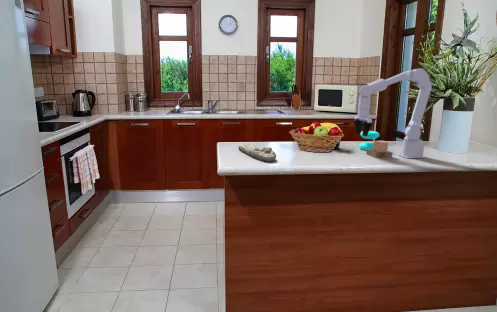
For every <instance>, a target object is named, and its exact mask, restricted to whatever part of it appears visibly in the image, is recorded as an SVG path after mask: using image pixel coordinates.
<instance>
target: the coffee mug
mask: <svg viewBox="0 0 497 312" xmlns="http://www.w3.org/2000/svg"><path fill="white" fill-rule="evenodd" d="M340 131H341V132H342V133H343V130H340ZM341 137H342V136H341ZM343 137H344V136H343ZM343 137H342V138H341V140H343ZM341 140H340V141H339V142H338V143H337V144H336V146H335V147H334V149H333V150H339V149H340V145H341Z"/></svg>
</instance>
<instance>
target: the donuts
mask: <svg viewBox="0 0 497 312" xmlns="http://www.w3.org/2000/svg"><path fill="white" fill-rule="evenodd" d="M359 135H360V136H361V137H362V138H363V139H367V140H368V139H369V140H375V139H377V138H379V137H380V133H379V132H378V131H373V130H369V132H368V135H367V136H363V130H361V132H360V134H359ZM358 145H359V146H358V147H359V149H361V150H362V151H367V149H373V146H374V142H370V141H369V142H368V141H366V142H365V141H364V142H361V143H360V144H358Z"/></svg>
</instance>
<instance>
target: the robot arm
mask: <svg viewBox="0 0 497 312" xmlns="http://www.w3.org/2000/svg"><path fill="white" fill-rule="evenodd" d="M404 80H405V81H412V82H413V83H414V84H416V85H417V87H418V88H419V91H418V94H417V97H416V101H415V105H414V108H413V111H412V114H411V119H410V120H409V123H408V125H407V126H406V128H405V129H404V135H405V137H404V138H403V144H402V152H401V153H398V154H397V155H398V156H400V157H402V158H405V159H424V152H425V151H424V150H425V142H424V141H423V139H420V137H421V136H422V135H421V134H422V131H421V128H422V120H423V116H424V115H425V111H426V107H427V104H428V100H429V98H430V94H431V91H432V88H433V87H432V83H431V80H430V76H429V73H428V72H427V71H426V70H425V69H424V68H422V67H421V68H414V69H411V70H407V71H404V72H401V73H399V74H398V73H397V74H396V75H393V76H392V77H389V78H387V79H384V78H377V79H376V80H375V81H372V82H367V84H364V85H362V86H361V87H360V88H359V90H358V93H359V97H358V98H359V99H358V107H357V115H354V119H353V120H352V122H353V125H354V129H355V131H354V132H355V134H356V135H357V134H359V135H360V133H361V132H362V131H363V136H367V135H368V132H369V131H371V127H373V125H374V124H373V118H371V117H370V111H371V110H370V108H371V95H372V94H373V95H374V94H377V93H379V92H382V91H385V90H386V89H387V87H388V86H390V85H393V84H396V83H398V82H401V81H404Z"/></svg>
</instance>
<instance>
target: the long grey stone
mask: <svg viewBox="0 0 497 312" xmlns="http://www.w3.org/2000/svg"><path fill="white" fill-rule="evenodd" d="M238 150H240V151H242V152H243V153H245V154H246V155H247V156H250V157H252V158H254V159H257V160H259V161H265V162H273V161H276V159H277V154H276V152H275V151H274V150H273V148H272V147H265V146H264V147H258V146H255V145H253V144H251V143H241V144H239V145H238Z"/></svg>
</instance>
